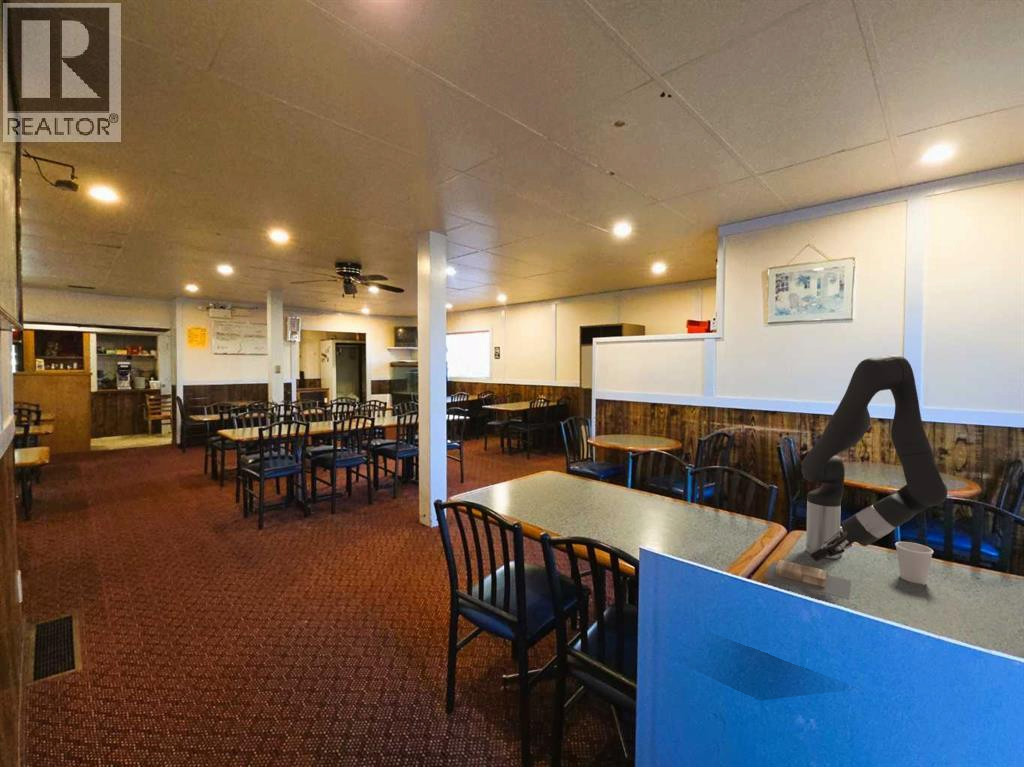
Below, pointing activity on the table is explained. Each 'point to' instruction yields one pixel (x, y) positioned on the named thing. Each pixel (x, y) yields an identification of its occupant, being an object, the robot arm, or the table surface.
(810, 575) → the maple block
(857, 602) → the table surface
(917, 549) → the dixie cup
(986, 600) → the table surface
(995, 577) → the table surface
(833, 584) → the rubber mat
